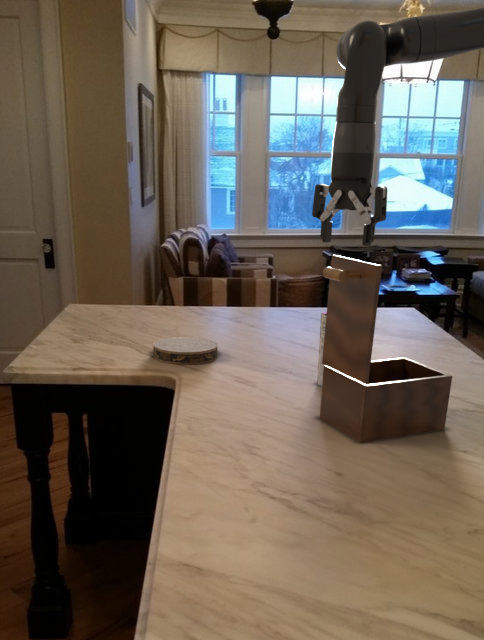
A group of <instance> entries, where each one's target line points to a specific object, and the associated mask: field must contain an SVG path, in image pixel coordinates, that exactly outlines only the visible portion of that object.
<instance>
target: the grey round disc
mask: <svg viewBox="0 0 484 640" xmlns="http://www.w3.org/2000/svg"><path fill="white" fill-rule="evenodd" d="M152 351H153V358H154V359H155V360H157V361H159V362H162V363H165V364H166V363H167V364H171V365H201V364H207V363H211V362H213V361H215V360H217V359H218V343H217V342H216V341H214V340H212V339H209V338H205V337H204V338H203V337H193V336H173V337H166V338H161V339H157V340H156V341H154V342H153V350H152Z"/></svg>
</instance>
